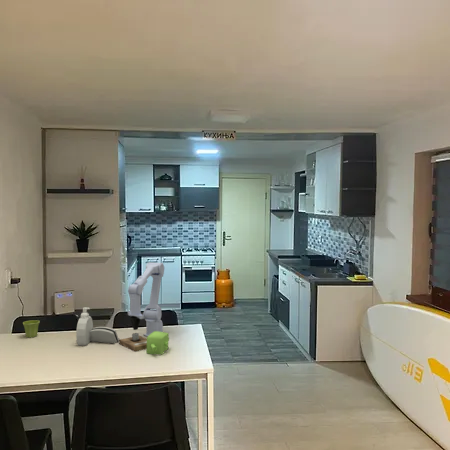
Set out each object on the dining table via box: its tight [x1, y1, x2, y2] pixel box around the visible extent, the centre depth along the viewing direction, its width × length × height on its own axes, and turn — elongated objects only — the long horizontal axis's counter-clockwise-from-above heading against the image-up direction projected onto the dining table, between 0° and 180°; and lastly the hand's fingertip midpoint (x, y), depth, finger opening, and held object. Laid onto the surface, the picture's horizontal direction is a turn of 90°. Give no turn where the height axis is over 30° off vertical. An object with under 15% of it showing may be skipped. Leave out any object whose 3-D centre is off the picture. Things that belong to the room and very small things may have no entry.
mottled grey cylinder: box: [131, 332, 139, 342], centre depth 246 cm, size 4×4×6 cm
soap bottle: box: [75, 307, 94, 346], centre depth 250 cm, size 16×5×20 cm, turn 1°
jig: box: [118, 335, 147, 352], centre depth 245 cm, size 13×18×3 cm
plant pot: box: [22, 320, 41, 339], centre depth 262 cm, size 9×9×9 cm
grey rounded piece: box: [90, 326, 120, 344], centre depth 251 cm, size 17×5×10 cm, turn 76°
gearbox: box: [145, 331, 170, 355], centre depth 233 cm, size 18×10×10 cm, turn 167°
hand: (135, 329), depth 246 cm, fingers closed
